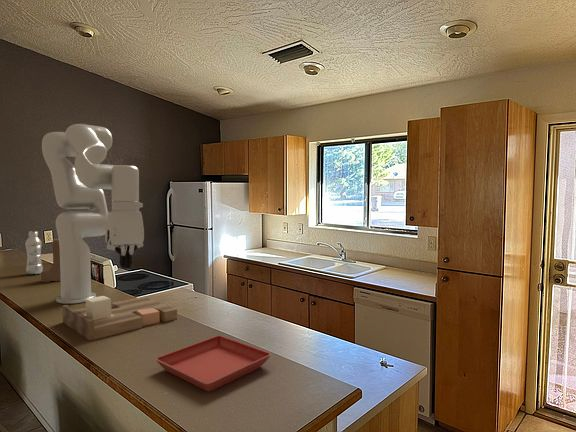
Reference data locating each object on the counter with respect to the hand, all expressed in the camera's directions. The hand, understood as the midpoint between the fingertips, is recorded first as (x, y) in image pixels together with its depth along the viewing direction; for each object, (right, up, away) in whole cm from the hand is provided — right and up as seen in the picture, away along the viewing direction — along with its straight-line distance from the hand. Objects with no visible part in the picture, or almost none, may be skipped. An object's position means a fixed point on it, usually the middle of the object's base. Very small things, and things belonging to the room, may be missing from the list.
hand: (125, 267), depth 120 cm
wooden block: (-53, -13, +53) cm, 76 cm away
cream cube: (-5, -13, -7) cm, 15 cm away
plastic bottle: (-70, -12, +67) cm, 98 cm away
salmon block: (+8, -16, -2) cm, 18 cm away
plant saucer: (+33, -18, -34) cm, 50 cm away
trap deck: (-1, -16, -1) cm, 16 cm away
